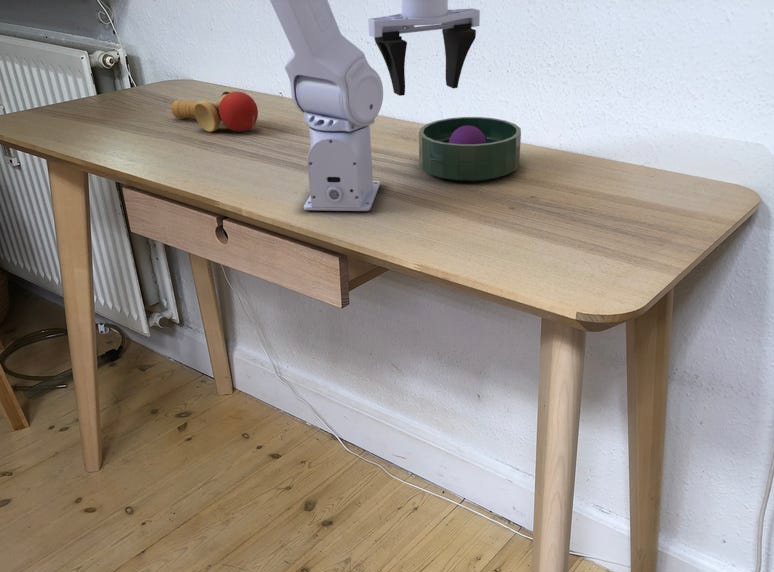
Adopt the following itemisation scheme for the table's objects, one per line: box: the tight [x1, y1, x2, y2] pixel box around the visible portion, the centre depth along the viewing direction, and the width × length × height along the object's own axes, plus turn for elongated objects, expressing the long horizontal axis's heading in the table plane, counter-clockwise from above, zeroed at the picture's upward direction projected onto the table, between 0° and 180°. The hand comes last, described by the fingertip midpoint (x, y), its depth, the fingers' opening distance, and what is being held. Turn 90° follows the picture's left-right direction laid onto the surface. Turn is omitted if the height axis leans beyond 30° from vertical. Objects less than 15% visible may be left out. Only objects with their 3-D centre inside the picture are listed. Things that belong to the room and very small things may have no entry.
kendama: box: [171, 89, 259, 133], centre depth 122 cm, size 8×6×18 cm
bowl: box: [418, 116, 522, 182], centre depth 100 cm, size 13×13×5 cm
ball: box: [449, 125, 486, 144], centre depth 100 cm, size 5×5×5 cm
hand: (425, 90), depth 100 cm, fingers open, 7 cm apart
